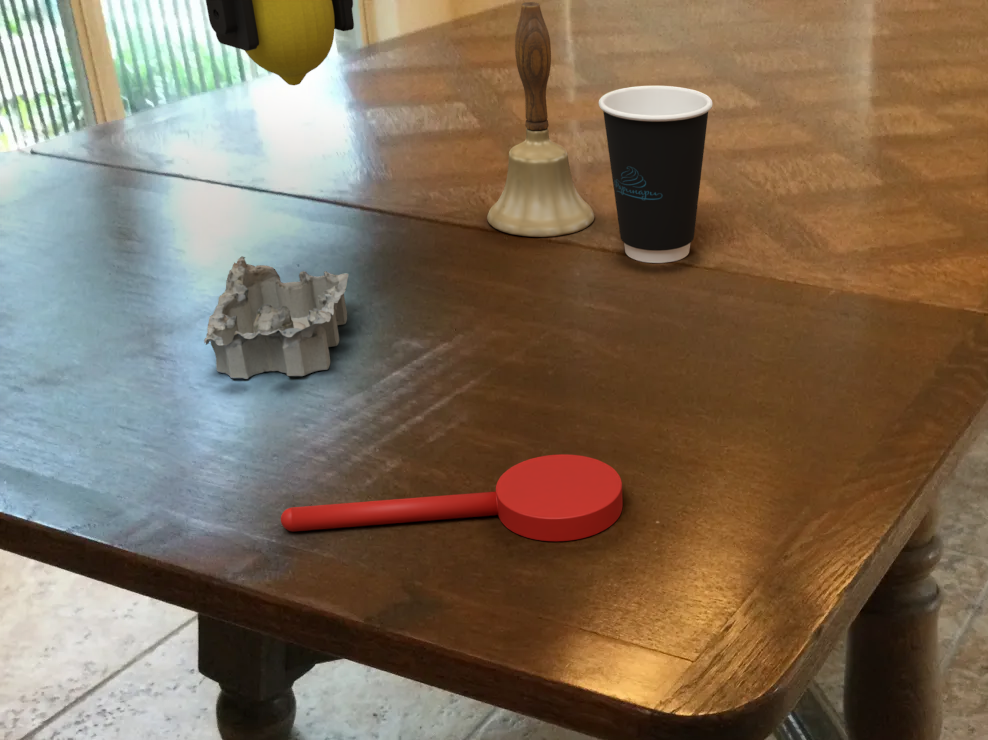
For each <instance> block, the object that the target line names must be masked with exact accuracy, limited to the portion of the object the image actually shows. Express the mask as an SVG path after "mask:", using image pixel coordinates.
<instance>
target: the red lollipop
mask: <svg viewBox="0 0 988 740" xmlns="http://www.w3.org/2000/svg"><path fill="white" fill-rule="evenodd" d="M623 505H624V504H623V481H622V478H621V476H620V474H619V473H618V471H616V469H615V468H613V467H612V466H611V465H609V464H607V462H606V463H605V462H604V461H601V460H600V459H596V458H594V457H591V456H590V457H589V456H585V455H579V454H566V453H565V454H564V453H563V454H548V455H547V454H546V455H541V456H537V457H532V458H529V459H526V460H524V461H521V462H519V463H517V464H514V465H513V466H511V467H509V468H508V469H506V471H505V472H504V473H502V475H500V476H499V478H498V480H497V482H496V485H495V491H485V492H472V493H459V494H457V493H456V494H447V495H446V494H445V495H444V494H443V495H433V496H431V495H430V496H421V497H420V496H418V497H407V498H395V499H380V500H370V501H368V500H367V501H356V502H342V503H329V504H319V505H306V506H304V505H303V506H293V507H292V506H291V507H288V508H286V509H285V510H284V511H283V512H282V514H281V516H280V523H281V526H282V527H283V528H284V530H286V531H289V532H303V531H304V532H305V531H316V530H317V531H318V530H330V529H342V528H353V527H355V528H356V527H367V526H378V525H379V526H380V525H392V524H404V523H416V522H428V521H430V522H431V521H440V520H453V519H466V518H476V517H477V518H479V517H489V516H498V518H499V520H500V522H501V523H502V524H503V526H504V527H506V528H507V529H508V530H509V531H511V532H512V533H514V534H516V535H518V536H521V537H524V538H527V539H530V540H535V541H541V542H554V543H555V542H557V543H558V542H569V541H576V540H583V539H585V538H589V537H592V536H595V535H597V534H599V533H602V532H604V531H606V530H607V529H609V528H610V527H611V526H612V525H613V524H615V523H616V522H617V520H618V519H619V518H620V516H621V514H622V511H623Z"/></svg>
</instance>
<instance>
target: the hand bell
mask: <svg viewBox="0 0 988 740" xmlns="http://www.w3.org/2000/svg"><path fill="white" fill-rule="evenodd" d="M542 12H543V11H542V9H541V4H540V3H538V2H535V1H527V2H525V1H524V2H523V3H521V5H520V14H519V17H518V21H517V25H516V30H515V37H514V51H515V52H514V54H515V61H516V67H517V72H518V75H519V78H520V81H521V84H522V87H523V91H524V99H525V100H524V101H525V102H524V104H525V106H524V107H525V123H524V124H525V125H524V126H525V128H526V129H525V140H523V141H522V142H520V143H518V144H515V145H513V146H512V147H511V148H510V150H509V152H508V164H507V173H506V178H505V179H506V180H505V183H504V187H503V190H502V193H501V194H500V196H499V198H498V200H497V201H496V202H495V203H494V204H492V206H491V207H490V208H489V211H488V213H487V215H486V220H487V222H488V224H489V225H490V226H491V227H493V228H494V229H496V230H498V231H500V232H503V233H505V234H509V235H515V236H520V237H521V236H522V237H528V238H531V237H532V238H551V237H559V236H565V235H570V234H574V233H578V232H581V231H583V230H584V229H586V228H588V227H589V226H591V225H592V223H593V222H594V221H595V213H594V211H593V208H592V207H591V206H590V204H589V203H587V201H585V200H584V199H583V198H582V196H581V195H580V193H579V192H578V190H577V187H576V185H575V183H574V180H573V176H572V173H571V168H570V162H569V153H568V151H567V149H566V148H565V147H564V146H563V145H561V144H559V143H557V142H554V141H552V140H551V138H550V132H549V127H550V125H549V117H548V107H547V87H548V82H549V78H550V73H551V65H552V47H551V46H552V45H551V39H550V33H549V30H548V27H547V24H546V21H545V19H544V16H543V13H542Z"/></svg>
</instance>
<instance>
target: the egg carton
mask: <svg viewBox="0 0 988 740" xmlns="http://www.w3.org/2000/svg"><path fill="white" fill-rule="evenodd" d="M323 274H324V275H320V276H319V275H317V276H316V275H315V276H314V275H310V274H309V273H308V272H307V271H306V270H303V271H300V272H299V275H298V277H299V281H289V282H282V280H281V277H280V274H279V273H278V271H277V270H276V268H274V267H273V266H269V265H264V264H260V265H259V264H257V265H253V264H249V263H247V262H246V257H245V256H240V257H239V258H237V260H236V262H235V261H234V262H233V264H232V267H231V269H229V271H228V274H227V277H226V280H225V290H224V292H223V293H222V294H221V295H219V297H218V299H217V300H218V301H217V304H216V307H215V309H214V310H213V313H212V314H210V316H209V317H208V324H207V331H206V337H205V338H204V340H203V343H204V344H205V346H207V345H208V344H210V345H211V348H212V350H213V353H214V354H215V355H214V356H215V361H216V362H215V367H216V368H215V369H216V371H217V372H218V373H222V374H226V375H228V376H229V377H230V379H244V380H248V379H249V378H251V377H253V376H255V375H259V374H262V373H265V372H280V373H283V374H286V376H287V377H303V376H306V375H310V374H311V373H314V372H315V373H316V372H318V371H327V370H329V368H330V367H331V357H330V349H329V348H331V347H337V346H338V345H339V343H340V334H339V329H338V328H339V327H338V326H344V325H346V323H347V321H348V311H347V305H346V299H345V292H346V290H347V284H348V279H349V273H345V272H344V273H340V274H333V273H332V272H331V273H330V272H328V271H323Z"/></svg>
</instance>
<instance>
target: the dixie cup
mask: <svg viewBox="0 0 988 740" xmlns="http://www.w3.org/2000/svg"><path fill="white" fill-rule="evenodd" d="M598 106H599V108H600V109H601V111H602V113H603V119H604V127H605V134H606V142H607V148H608V150H607V151H608V158H609V164H610V170H611V178H612V179H611V180H612V184H613V194H614V201H615V209H616V215H617V222H618V230H619V237H620V240H621V241H622V242H623V246H624V252H625V255H626V256H627V257H628V258H631V259H632V260H634V261H635V260H636V261H637V262H642V263H651V264H664V263H665V264H666V263H672V262H677V261H680V260H682V259H684V258H686V257H687V256H688V255H689V254H690V249H691V243H692V241H693V240H694V238H695V231H696V223H697V214H698V205H699V204H698V203H699V196H700V189H701V188H700V187H701V179H702V171H703V162H704V161H703V160H704V152H705V145H706V135H707V126H708V118H709V111H710V110H711V109H712V108H713V100H712V98H711V97H710V96H709V95H708V94H706V93H704V92H701V91H698V90H695V89H692V88H688V87H687V88H686V87H682V86H681V87H680V86H672V85H636V86H630V87H622V88H619V89H615V90H611V91H609V92H606V93H605V94H603V95H602V96H601V97H600V98H599V100H598Z"/></svg>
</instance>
